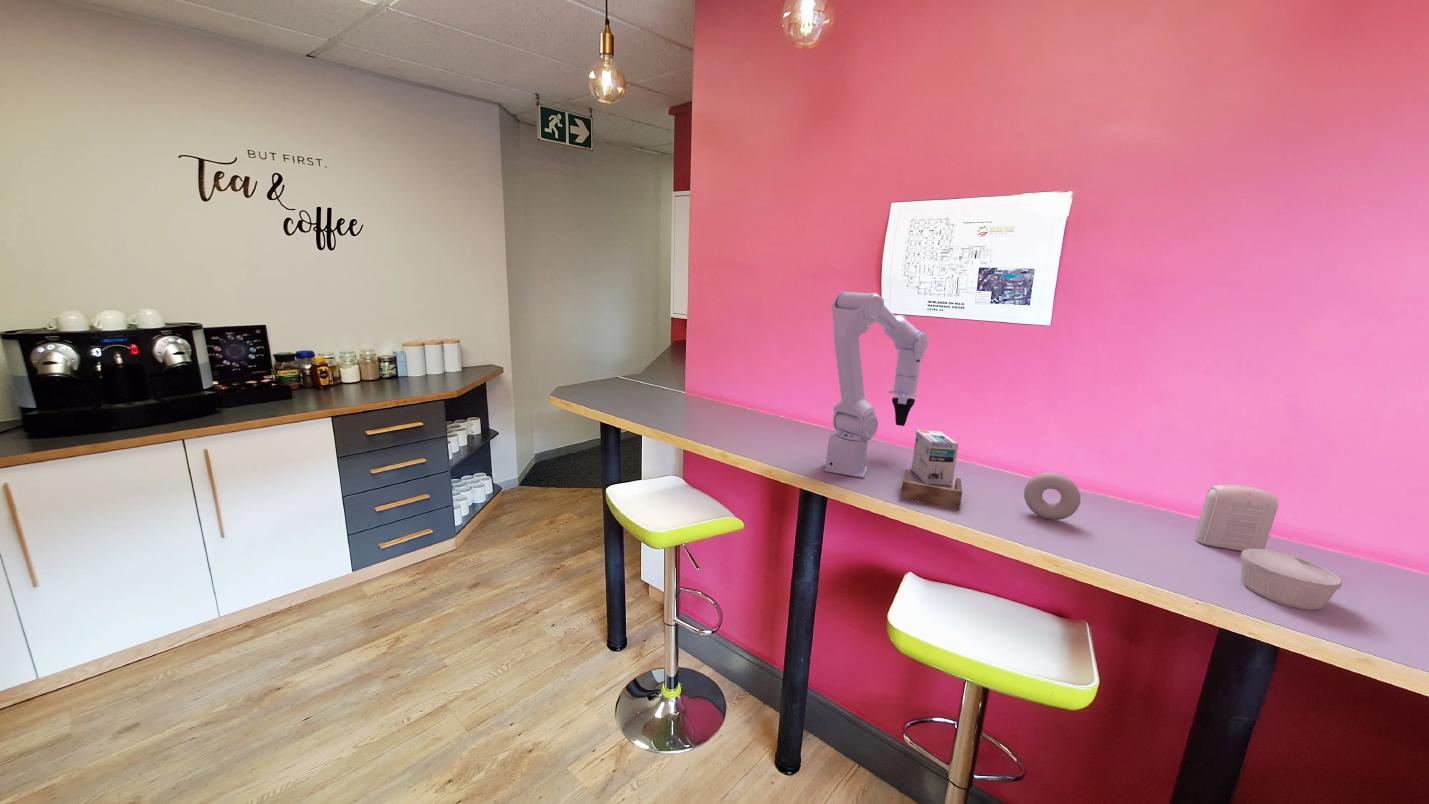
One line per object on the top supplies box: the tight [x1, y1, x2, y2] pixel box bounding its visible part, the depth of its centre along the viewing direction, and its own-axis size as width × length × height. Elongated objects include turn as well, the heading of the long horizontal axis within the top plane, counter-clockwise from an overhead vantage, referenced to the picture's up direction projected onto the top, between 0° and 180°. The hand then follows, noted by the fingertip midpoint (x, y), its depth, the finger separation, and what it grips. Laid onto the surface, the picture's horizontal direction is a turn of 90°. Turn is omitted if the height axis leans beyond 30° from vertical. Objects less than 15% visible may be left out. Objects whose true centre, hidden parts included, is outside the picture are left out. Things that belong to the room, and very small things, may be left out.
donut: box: [1023, 471, 1081, 521], centre depth 112 cm, size 10×4×10 cm, turn 55°
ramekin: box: [1240, 549, 1343, 611], centre depth 87 cm, size 11×11×5 cm
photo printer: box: [1194, 484, 1279, 552], centre depth 103 cm, size 10×4×12 cm, turn 72°
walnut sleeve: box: [899, 469, 963, 511], centre depth 120 cm, size 12×9×4 cm
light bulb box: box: [910, 429, 960, 486], centre depth 132 cm, size 11×7×11 cm, turn 179°
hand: (900, 425), depth 145 cm, fingers closed
